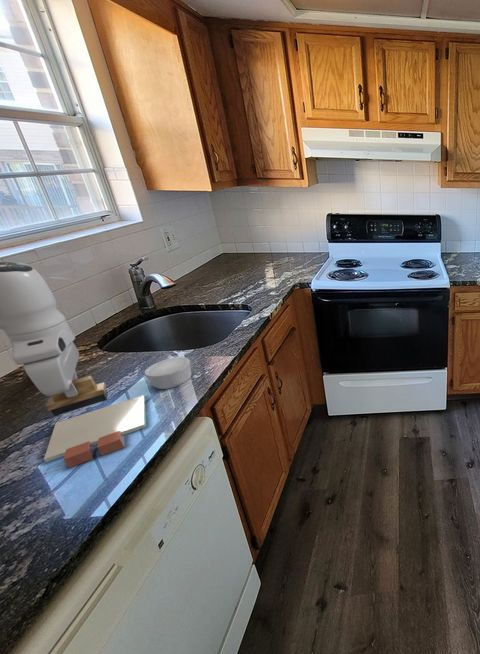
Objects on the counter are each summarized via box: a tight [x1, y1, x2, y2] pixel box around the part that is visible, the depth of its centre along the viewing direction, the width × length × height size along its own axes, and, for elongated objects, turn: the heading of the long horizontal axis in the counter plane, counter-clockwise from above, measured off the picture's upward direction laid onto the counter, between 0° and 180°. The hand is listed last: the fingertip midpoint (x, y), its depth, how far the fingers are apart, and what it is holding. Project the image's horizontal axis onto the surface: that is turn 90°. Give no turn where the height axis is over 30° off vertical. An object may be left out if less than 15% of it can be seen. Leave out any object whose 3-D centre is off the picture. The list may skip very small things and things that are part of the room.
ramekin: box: [143, 356, 192, 390], centre depth 109 cm, size 11×11×5 cm
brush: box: [45, 375, 109, 417], centre depth 83 cm, size 10×4×6 cm, turn 128°
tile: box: [43, 394, 147, 463], centre depth 92 cm, size 18×16×1 cm
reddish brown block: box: [63, 441, 95, 469], centre depth 82 cm, size 4×4×2 cm
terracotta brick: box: [97, 431, 126, 456], centre depth 85 cm, size 4×4×2 cm
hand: (74, 391), depth 83 cm, fingers closed on brush, 2 cm apart
